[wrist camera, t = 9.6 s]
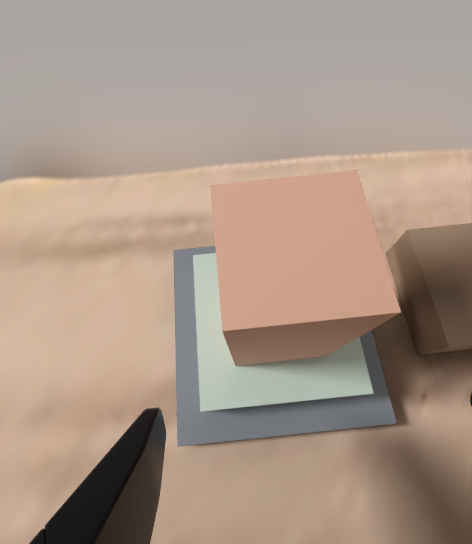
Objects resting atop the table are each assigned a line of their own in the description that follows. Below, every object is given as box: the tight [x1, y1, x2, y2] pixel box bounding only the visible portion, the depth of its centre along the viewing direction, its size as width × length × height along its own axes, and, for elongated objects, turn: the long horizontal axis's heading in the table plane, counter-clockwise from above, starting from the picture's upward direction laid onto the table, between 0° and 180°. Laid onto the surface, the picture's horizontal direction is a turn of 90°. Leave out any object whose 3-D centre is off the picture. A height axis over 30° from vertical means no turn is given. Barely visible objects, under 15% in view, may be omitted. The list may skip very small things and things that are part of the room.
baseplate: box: [174, 246, 397, 446], centre depth 18 cm, size 11×11×1 cm
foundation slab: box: [193, 253, 374, 412], centre depth 17 cm, size 8×8×2 cm
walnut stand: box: [386, 223, 472, 356], centre depth 18 cm, size 6×6×3 cm
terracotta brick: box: [211, 170, 401, 366], centre depth 12 cm, size 4×4×8 cm
